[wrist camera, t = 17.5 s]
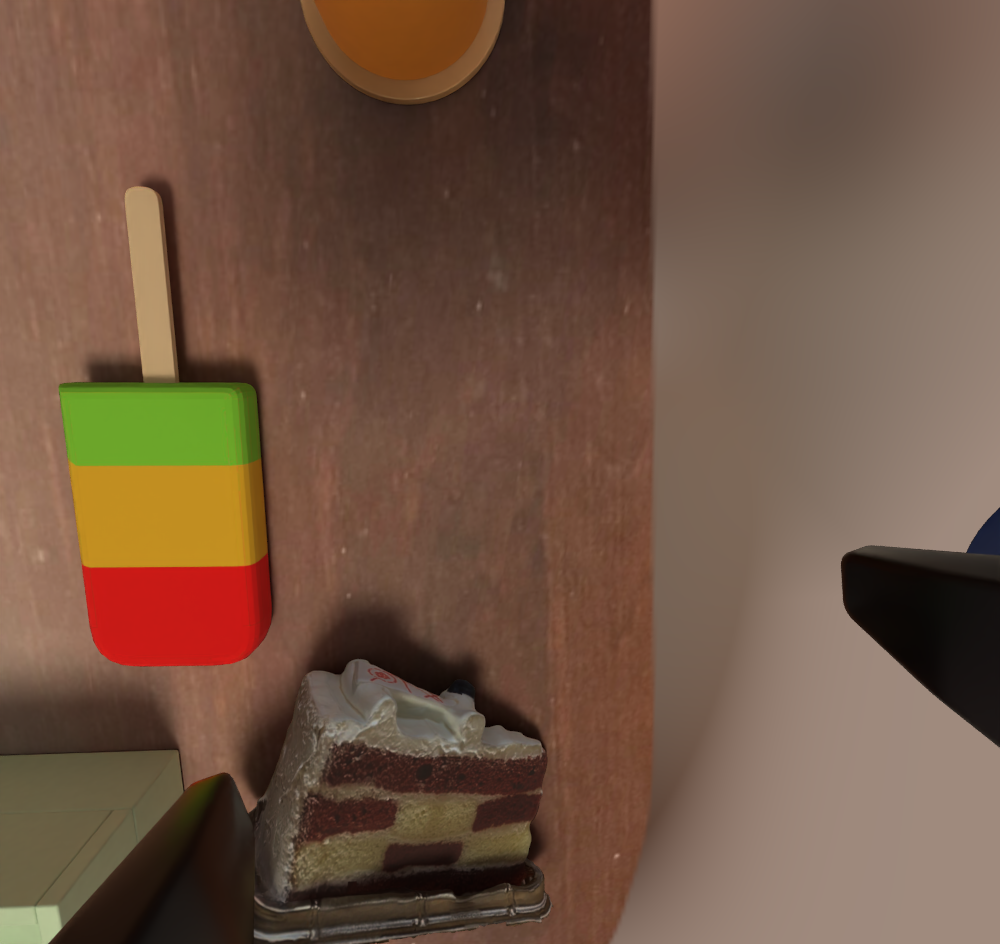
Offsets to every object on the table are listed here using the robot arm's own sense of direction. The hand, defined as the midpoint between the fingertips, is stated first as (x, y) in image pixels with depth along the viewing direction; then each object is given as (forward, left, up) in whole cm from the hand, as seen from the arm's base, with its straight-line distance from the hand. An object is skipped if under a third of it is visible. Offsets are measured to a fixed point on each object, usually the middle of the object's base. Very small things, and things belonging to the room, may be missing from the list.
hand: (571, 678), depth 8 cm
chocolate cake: (+4, +10, -13) cm, 17 cm away
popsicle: (+11, -2, -13) cm, 17 cm away
